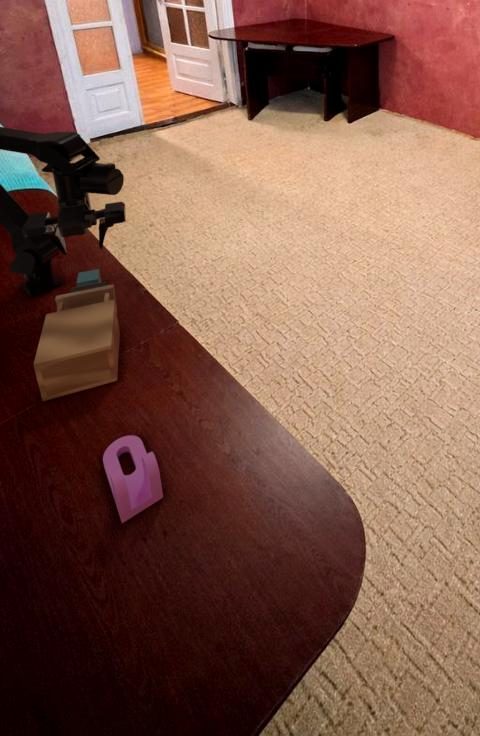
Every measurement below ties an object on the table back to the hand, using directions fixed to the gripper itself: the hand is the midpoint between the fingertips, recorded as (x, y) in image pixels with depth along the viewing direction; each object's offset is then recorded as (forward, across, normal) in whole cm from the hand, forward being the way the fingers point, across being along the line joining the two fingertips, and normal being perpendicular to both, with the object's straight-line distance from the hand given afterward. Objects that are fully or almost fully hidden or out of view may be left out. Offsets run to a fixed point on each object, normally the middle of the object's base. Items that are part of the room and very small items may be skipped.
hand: (83, 250), depth 110 cm
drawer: (+10, +1, -15) cm, 18 cm away
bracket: (+11, +9, -52) cm, 54 cm away
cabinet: (+11, +1, -24) cm, 27 cm away
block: (+11, 0, 0) cm, 11 cm away
